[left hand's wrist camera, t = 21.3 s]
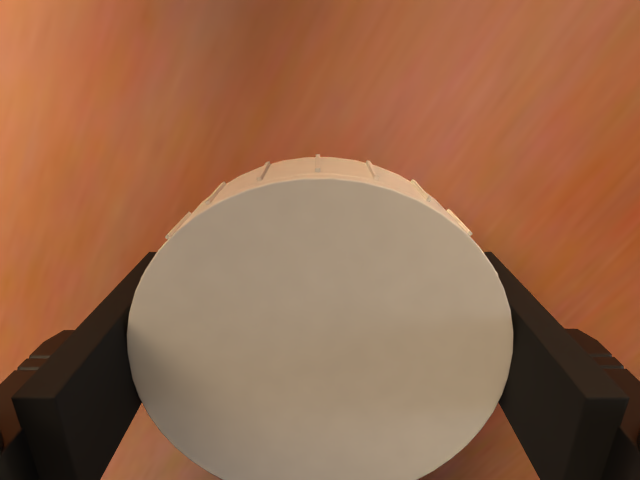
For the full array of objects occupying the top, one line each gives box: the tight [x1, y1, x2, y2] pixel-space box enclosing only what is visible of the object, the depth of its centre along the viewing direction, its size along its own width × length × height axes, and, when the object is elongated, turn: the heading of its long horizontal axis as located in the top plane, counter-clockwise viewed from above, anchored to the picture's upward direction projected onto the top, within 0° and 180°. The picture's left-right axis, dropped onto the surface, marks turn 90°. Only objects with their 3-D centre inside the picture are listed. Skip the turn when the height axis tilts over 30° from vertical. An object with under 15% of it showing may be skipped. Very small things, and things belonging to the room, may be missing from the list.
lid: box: [127, 154, 513, 480], centre depth 12 cm, size 9×9×2 cm
